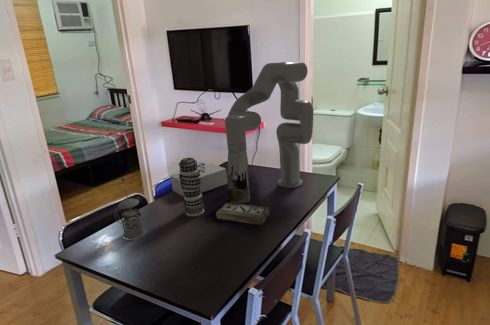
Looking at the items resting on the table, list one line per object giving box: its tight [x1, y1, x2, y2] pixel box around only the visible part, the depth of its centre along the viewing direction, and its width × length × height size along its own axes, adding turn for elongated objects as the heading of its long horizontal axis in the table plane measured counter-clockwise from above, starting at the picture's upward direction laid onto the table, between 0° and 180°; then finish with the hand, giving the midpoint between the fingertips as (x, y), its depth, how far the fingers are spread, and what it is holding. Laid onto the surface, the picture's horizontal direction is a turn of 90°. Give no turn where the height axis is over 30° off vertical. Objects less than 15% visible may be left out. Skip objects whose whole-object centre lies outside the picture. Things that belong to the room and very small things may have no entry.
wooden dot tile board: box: [215, 202, 271, 226], centre depth 149 cm, size 10×21×3 cm, turn 66°
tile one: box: [221, 204, 237, 212], centre depth 152 cm, size 5×5×3 cm
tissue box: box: [170, 162, 228, 198], centre depth 183 cm, size 14×25×11 cm, turn 127°
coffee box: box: [226, 169, 251, 204], centre depth 162 cm, size 9×6×16 cm
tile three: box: [235, 206, 251, 214], centre depth 149 cm, size 5×5×3 cm
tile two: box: [249, 208, 265, 216], centre depth 146 cm, size 5×5×3 cm
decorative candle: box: [178, 157, 205, 217], centre depth 153 cm, size 9×9×25 cm
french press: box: [113, 176, 148, 239], centre depth 139 cm, size 10×12×25 cm
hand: (241, 188), depth 146 cm, fingers closed
